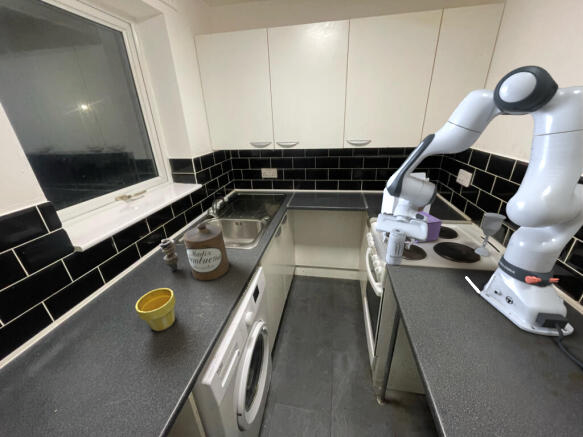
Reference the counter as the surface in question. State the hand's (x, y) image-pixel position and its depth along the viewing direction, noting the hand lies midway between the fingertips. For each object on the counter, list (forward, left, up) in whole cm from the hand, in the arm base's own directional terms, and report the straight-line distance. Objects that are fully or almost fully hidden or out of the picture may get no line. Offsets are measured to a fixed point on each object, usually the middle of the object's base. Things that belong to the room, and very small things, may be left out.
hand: (395, 245), depth 95 cm
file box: (+25, -20, -8) cm, 34 cm away
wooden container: (-9, +78, -9) cm, 79 cm away
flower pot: (-37, +82, -9) cm, 90 cm away
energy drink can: (0, 0, -9) cm, 9 cm away
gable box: (+45, -19, -9) cm, 50 cm away
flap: (+22, -21, +1) cm, 31 cm away
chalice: (+9, -41, -9) cm, 43 cm away
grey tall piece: (-10, +94, -9) cm, 95 cm away
